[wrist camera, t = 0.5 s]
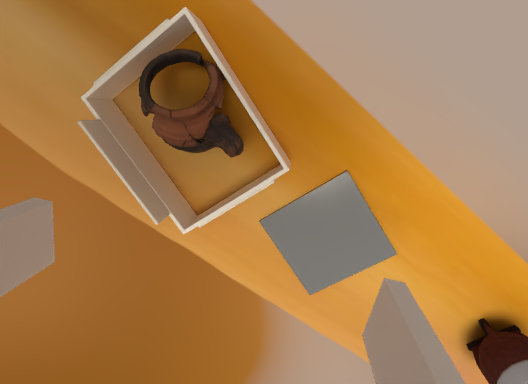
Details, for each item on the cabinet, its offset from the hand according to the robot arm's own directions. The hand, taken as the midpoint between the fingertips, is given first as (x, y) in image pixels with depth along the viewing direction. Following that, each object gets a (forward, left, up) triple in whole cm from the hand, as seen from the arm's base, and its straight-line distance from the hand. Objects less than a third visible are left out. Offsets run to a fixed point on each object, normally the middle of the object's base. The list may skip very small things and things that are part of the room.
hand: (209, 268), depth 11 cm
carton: (-7, -5, -23) cm, 25 cm away
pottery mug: (-7, -4, -24) cm, 25 cm away
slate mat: (+12, +1, -23) cm, 26 cm away
